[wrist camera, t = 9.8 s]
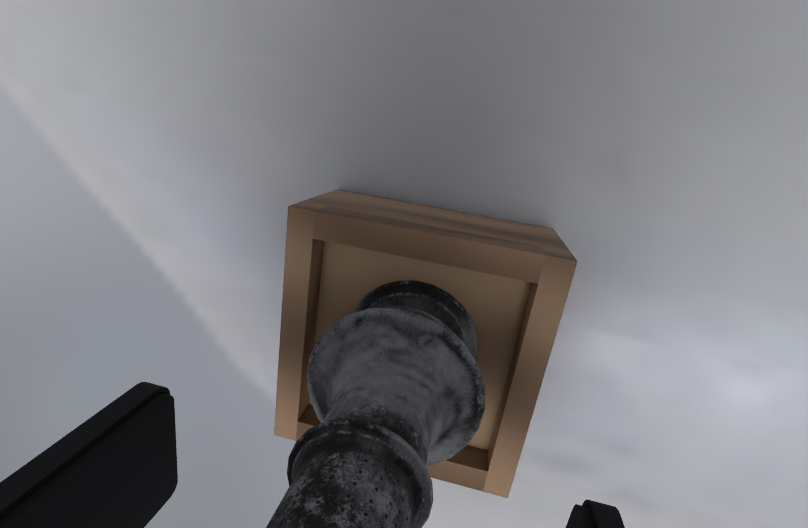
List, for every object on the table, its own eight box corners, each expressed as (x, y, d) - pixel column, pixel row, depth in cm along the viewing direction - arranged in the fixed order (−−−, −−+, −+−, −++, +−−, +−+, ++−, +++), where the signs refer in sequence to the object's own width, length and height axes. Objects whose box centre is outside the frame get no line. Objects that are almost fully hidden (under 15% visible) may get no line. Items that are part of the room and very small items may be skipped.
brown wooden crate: (337, 189, 20) (288, 206, 15) (552, 228, 18) (577, 261, 13) (319, 371, 23) (274, 434, 18) (502, 416, 21) (507, 498, 17)
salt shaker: (494, 282, 15) (515, 677, 4) (477, 416, 17) (458, 952, 6) (342, 264, 16) (18, 546, 5) (340, 393, 18) (97, 816, 7)
